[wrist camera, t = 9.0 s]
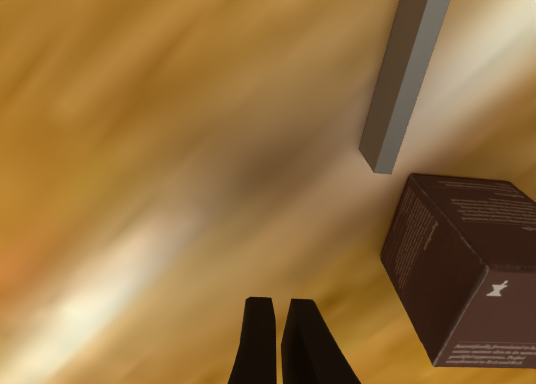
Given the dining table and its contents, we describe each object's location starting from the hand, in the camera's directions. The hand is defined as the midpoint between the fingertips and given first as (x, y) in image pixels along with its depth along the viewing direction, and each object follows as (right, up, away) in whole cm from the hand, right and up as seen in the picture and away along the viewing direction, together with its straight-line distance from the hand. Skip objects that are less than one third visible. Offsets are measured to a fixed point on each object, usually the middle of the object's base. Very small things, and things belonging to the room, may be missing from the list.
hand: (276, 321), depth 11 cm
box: (+10, +2, +11) cm, 15 cm away
